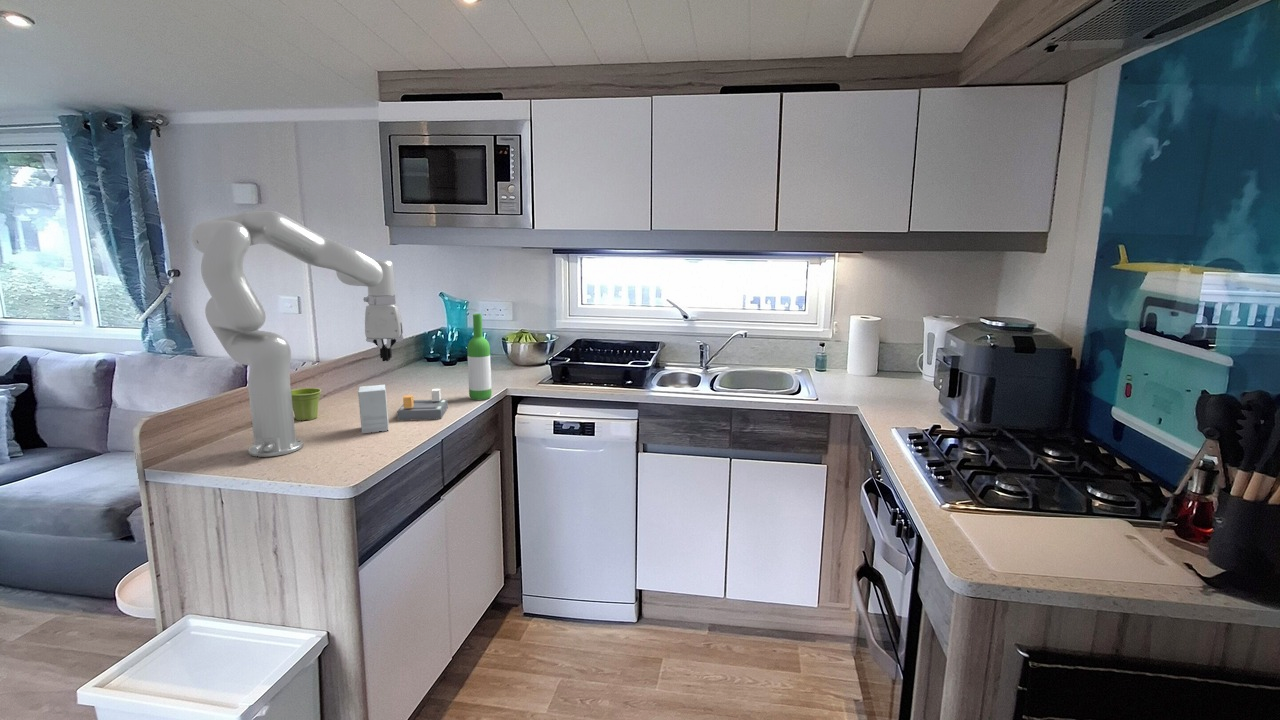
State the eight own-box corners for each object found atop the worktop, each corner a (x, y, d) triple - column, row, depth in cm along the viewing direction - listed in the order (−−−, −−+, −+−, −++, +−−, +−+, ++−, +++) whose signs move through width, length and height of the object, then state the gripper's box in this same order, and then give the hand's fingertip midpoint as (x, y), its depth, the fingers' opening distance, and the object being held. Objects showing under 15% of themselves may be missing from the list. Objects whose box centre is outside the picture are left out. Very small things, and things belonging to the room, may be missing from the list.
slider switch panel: (441, 419, 195) (440, 409, 194) (397, 420, 193) (397, 410, 192) (447, 408, 207) (447, 399, 207) (407, 409, 206) (406, 400, 205)
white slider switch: (439, 401, 203) (438, 390, 202) (431, 401, 202) (431, 390, 202) (441, 398, 205) (440, 388, 205) (433, 399, 205) (432, 388, 204)
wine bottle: (469, 401, 216) (466, 315, 210) (468, 396, 223) (465, 313, 218) (492, 399, 219) (489, 315, 213) (490, 394, 226) (487, 312, 220)
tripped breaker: (411, 408, 194) (411, 397, 193) (403, 408, 193) (403, 397, 193) (413, 405, 197) (413, 395, 196) (405, 405, 196) (405, 395, 196)
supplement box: (388, 424, 189) (386, 384, 186) (388, 431, 182) (385, 389, 180) (362, 426, 186) (359, 385, 184) (361, 434, 179) (357, 391, 177)
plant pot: (307, 412, 200) (304, 386, 198) (330, 415, 197) (328, 389, 196) (282, 420, 191) (279, 393, 190) (306, 423, 188) (303, 396, 187)
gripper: (352, 302, 183) (357, 363, 187) (405, 302, 185) (409, 362, 189) (359, 299, 190) (364, 358, 194) (410, 299, 193) (414, 357, 196)
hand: (386, 360), depth 191 cm, fingers closed
